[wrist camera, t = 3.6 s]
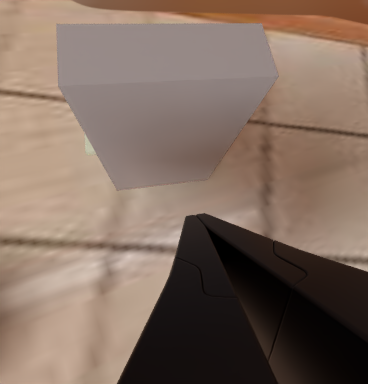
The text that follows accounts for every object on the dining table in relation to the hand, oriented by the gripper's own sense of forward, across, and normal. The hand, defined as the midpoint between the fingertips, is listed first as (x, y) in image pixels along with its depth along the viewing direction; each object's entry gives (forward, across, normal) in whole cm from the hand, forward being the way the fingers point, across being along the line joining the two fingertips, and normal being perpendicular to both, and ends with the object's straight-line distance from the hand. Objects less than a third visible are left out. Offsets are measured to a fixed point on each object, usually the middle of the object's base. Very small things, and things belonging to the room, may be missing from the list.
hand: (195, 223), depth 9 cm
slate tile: (+14, 0, -4) cm, 14 cm away
